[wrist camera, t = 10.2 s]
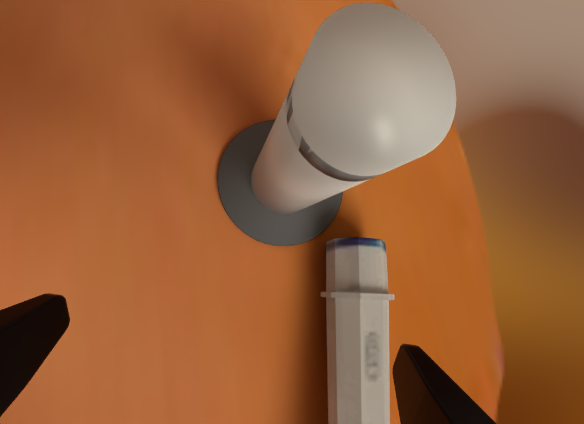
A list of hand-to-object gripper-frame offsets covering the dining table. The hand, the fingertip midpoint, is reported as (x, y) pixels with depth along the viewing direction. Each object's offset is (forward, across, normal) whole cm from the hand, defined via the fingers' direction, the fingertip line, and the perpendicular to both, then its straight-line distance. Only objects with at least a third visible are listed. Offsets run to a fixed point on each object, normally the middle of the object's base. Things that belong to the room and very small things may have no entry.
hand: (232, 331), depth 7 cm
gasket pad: (+14, 0, 0) cm, 14 cm away
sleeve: (+13, 0, 0) cm, 13 cm away
